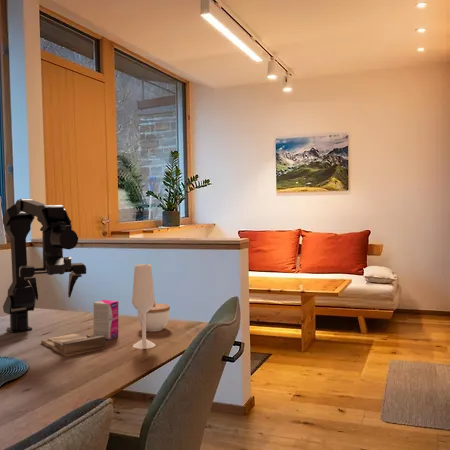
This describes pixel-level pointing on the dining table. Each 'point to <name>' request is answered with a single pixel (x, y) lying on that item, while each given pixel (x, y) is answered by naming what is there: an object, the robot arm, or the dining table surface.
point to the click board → (75, 344)
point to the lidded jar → (156, 317)
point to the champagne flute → (143, 299)
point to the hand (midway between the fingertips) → (53, 298)
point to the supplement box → (106, 319)
